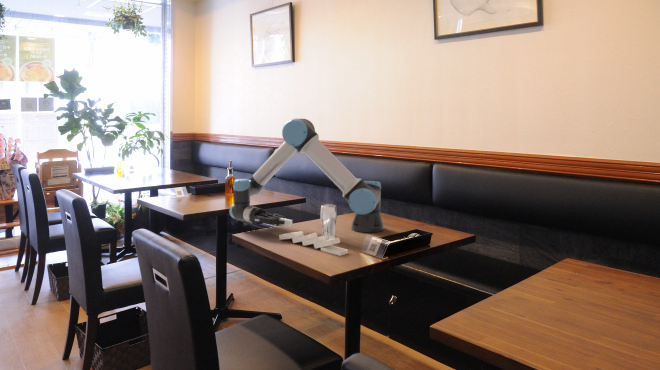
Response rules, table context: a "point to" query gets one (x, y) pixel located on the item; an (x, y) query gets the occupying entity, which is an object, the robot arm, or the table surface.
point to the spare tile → (291, 235)
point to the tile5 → (334, 250)
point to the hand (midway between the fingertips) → (291, 223)
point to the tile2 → (304, 237)
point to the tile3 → (315, 240)
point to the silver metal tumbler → (328, 220)
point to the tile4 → (327, 243)
